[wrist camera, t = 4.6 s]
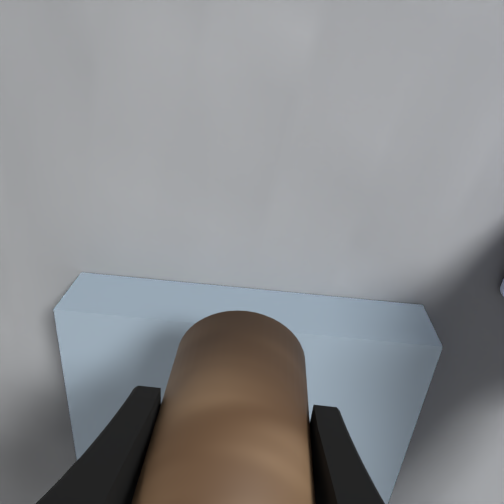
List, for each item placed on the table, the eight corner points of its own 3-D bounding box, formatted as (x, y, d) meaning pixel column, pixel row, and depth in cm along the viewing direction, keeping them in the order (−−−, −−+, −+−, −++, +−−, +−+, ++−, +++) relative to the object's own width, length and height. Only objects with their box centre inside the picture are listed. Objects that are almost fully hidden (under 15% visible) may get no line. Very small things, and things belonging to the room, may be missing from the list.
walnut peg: (315, 318, 13) (345, 584, 7) (295, 416, 15) (306, 694, 9) (178, 303, 13) (89, 556, 7) (175, 403, 15) (104, 671, 9)
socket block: (422, 304, 21) (442, 346, 19) (358, 514, 29) (366, 565, 26) (81, 272, 22) (53, 309, 19) (106, 489, 29) (88, 537, 26)
